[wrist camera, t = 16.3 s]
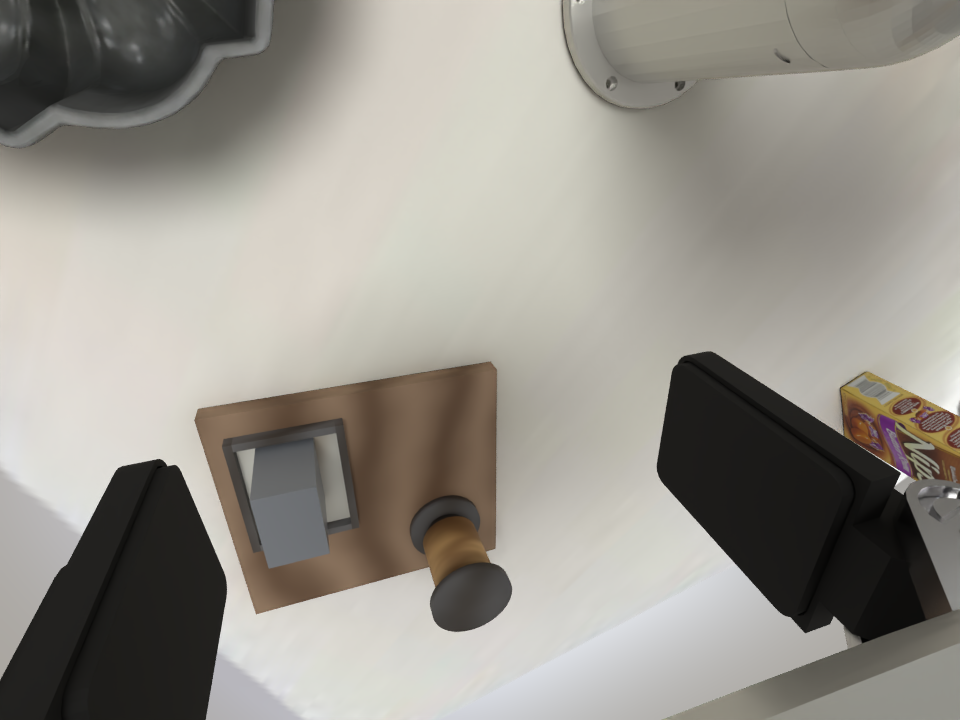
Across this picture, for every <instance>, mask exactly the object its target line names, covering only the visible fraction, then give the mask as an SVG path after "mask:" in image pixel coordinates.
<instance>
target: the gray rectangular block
mask: <svg viewBox="0 0 960 720" xmlns="http://www.w3.org/2000/svg"><path fill="white" fill-rule="evenodd" d="M250 504H251V508H252V511H253V515H254V518H255V522H256V525H257V529H258V533H259V536H260V540H261V543H262V547H263V550H264V554H265V557H266V561H267V564H268V568H269V569H270V568H274V567H278V566H282V565H286V564H290V563H294V562H298V561H302V560H306V559H310V558H314V557H318V556H322V555H326V554H330V550H329V539H328V527H327V515H326V504H325V495H324V490H323V485H322V479H321V474H320V469H319V464H318V459H317V454H316V448H315V443H314V438H308V439H302V440H297V441H292V442H286V443H281V444H276V445H270V446H265V447H260V448H255V455H254V464H253V474H252V483H251V492H250Z"/></svg>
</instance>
